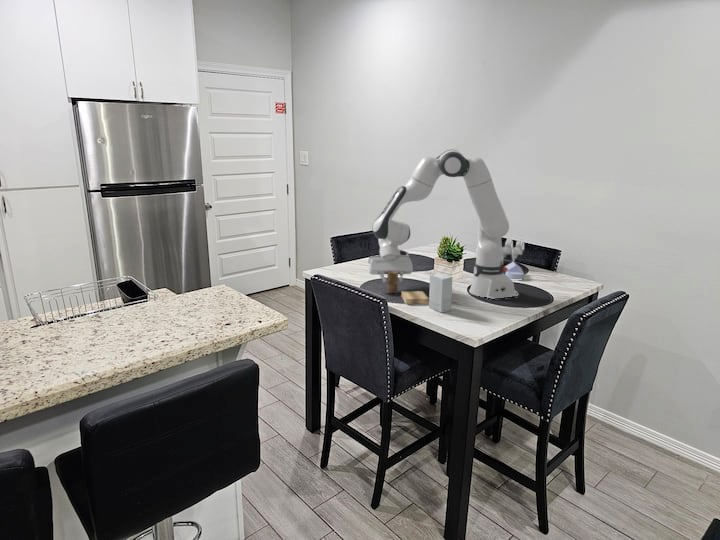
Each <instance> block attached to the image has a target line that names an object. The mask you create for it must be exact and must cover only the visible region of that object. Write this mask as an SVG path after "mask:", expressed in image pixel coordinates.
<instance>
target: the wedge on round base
mask: <svg viewBox="0 0 720 540" xmlns="http://www.w3.org/2000/svg"><path fill="white" fill-rule="evenodd" d="M504 267H506V268H508V271H507V272H504V274H505V275H506V276H507V277H509V278H510V279H524V276H525V275H524V274H525V273H524V271H523V269H522V267H521V266H520V265H518V264H517V263H516V262H515V261H514V262H512V261H511V262H510V263H508V264H507V265H504Z"/></svg>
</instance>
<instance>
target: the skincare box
mask: <svg viewBox="0 0 720 540" xmlns="http://www.w3.org/2000/svg"><path fill="white" fill-rule="evenodd" d="M428 291H429V295H428V298H429V303H428V308H430V309H432V310H434V311H437V312H438V313H441V314H443V313H447V312H450V311H451V310H452V298H453V276H451V275H447V274H443V273H440V272H438V273H437V272H436V273H433V274H430V275H429V290H428Z"/></svg>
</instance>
